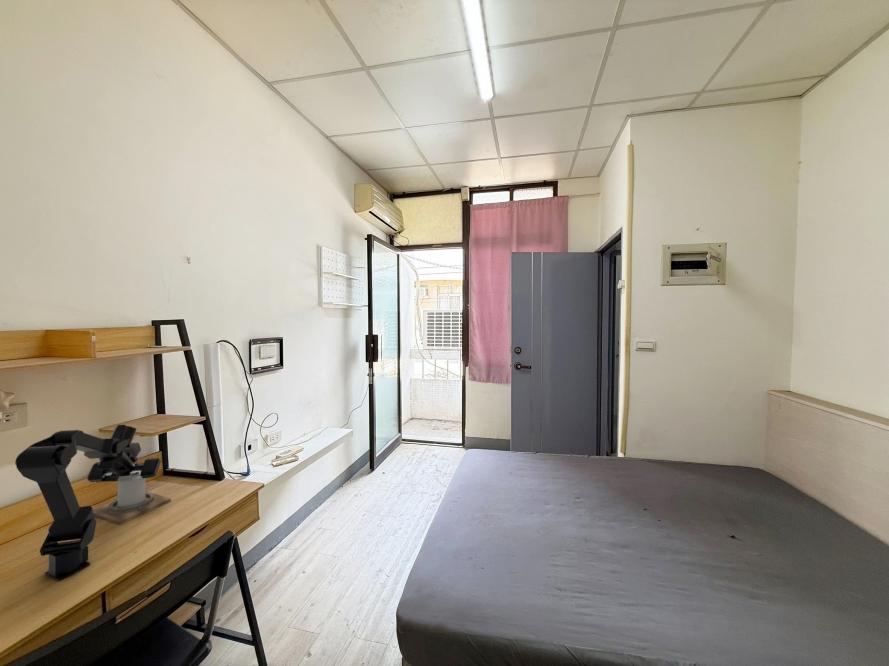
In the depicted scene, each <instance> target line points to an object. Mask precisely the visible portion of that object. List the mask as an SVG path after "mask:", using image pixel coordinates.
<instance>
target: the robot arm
mask: <svg viewBox="0 0 889 666" xmlns="http://www.w3.org/2000/svg"><path fill="white" fill-rule="evenodd" d="M136 433H137V428H136V427H133V426H129V425H126V424H117V426H116V427H115V428H114V430H113V432H112V435H111V437H110V438H101V437H98V436H95V435H92V434H89V433H85V432H84V431H83V430H79V429H71V430H69V429H67V430H60V431H59V430H58V431H56V432H55V433H53V434H51V435H50V436H49V437H46V438H43V439H41V440H39V441H36V442H34V443H32V444H30V445H29V446H28V447H27V448H26V449H24V450H23V451H22V452H20V453H19V454H18V455H17V456H16V458H15V467H16V469H17V471H18V472H19V474H20V475H22V476H23V478H26V479H28V480H30V481H33V482H35V483H36V484H37V486H38V488H39V490H40V492H41V494H42V496H43V498H44V499H43V500H44V501H45V503H46V505H47V508H48V511H49V512H50V514H51V516H52V519H53V521H52V523H50V526H49V528H48V529H47V531H48V534H46V537H45V539H44V541H43V543H42V544H41V547H40V549H39V553H40V556H41V557H45V556H48V571H46V572H44V575H45V576H46V577H49V578H52V579H53V580H55V581H59V582H60V581H62V580H64V579H66V578H68V577H70V576H71V575H73V574H75V573H77V572H79V571H81V570H83V569H85V568H86V567H88V566H90V565H91V562H89V561H88V560H89V546H88V545H89V544H91V543H92V542H93V541H94V537H95V532H96V526H97V519H96V517H95V514H94V513H93V510H94V509H93V507H92V505H85V506H80V504H79V501H78V499H77V496H76V494H75V491H74V489H73V487H72V484H71V482H70V478H69V476H68V474H67V468H68V467H69V466H70V463H72V462H71V461H72V459H73V458H74V457H75V456H76V455H77V454H78V451H79V452H83V453H84V454H83V456H85V458H87V459H91V460H92V459H99V462H98V461H97V462H95V463H93V464H92V465H91V468H90V469H89V472H88V474H87V476H86V479H87V481H89V482H90V483H107V482H108V483H111V482H113V483H114V482H118V479H119V478H120V477H121V476H130V473H131V472H132V471H138V470H141V474H140V476H141V477H142V478H145V479H146V480H147V479H149V480H150V479H152V478H154V477H156V476H157V475H158V471H159V468H160V466H161V463H162V461H161V460H162V459H160V458H159V457H151V458H146V459H145V460H144V462H138V460H139V458H138V455H139V453H141V451H142V448H141V445H140V443H139V442H133V440H134V437H135V436H136V435H135V434H136ZM137 462H138V463H137Z"/></svg>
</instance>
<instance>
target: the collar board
mask: <svg viewBox="0 0 889 666" xmlns="http://www.w3.org/2000/svg"><path fill="white" fill-rule="evenodd" d="M171 502H172V498H171V497H167V496H164V495H161V494H157V493H153V492H150V491H145V501H144V502H143V503H141V504H139V505H136V506H132V507H128V508H119V507H118V498H116V499H114V500H113V501H112V502H109V503H107V504H103V506H99V507H97V508H95V509H93V513H94V514H95V516H94V517H95V518H98V519H101V520H104V521H107V522H110V523H114V524H117V525H119V526H120V525H123V524H125V523H127V522H129V521H132V520H133V519H135V518H139V517H140V516H142V515H144V514H147V513H148V512H150V511H153V510H155V509H157V508H159V507H162V506H164V505H166V504H168V503H171Z"/></svg>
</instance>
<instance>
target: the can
mask: <svg viewBox="0 0 889 666" xmlns="http://www.w3.org/2000/svg"><path fill="white" fill-rule="evenodd" d="M140 474H141V470H138V471H132V472H131V473H130V476H121V477H119V479H118V481H117V499H118V507H119V508H128V507H132V506H136V505H139V504H141V503H143V502H144V501H145V491H146V485H147V481H146V480H147V479H145V478H142V477H141V476H140ZM146 492H147V491H146Z"/></svg>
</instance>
